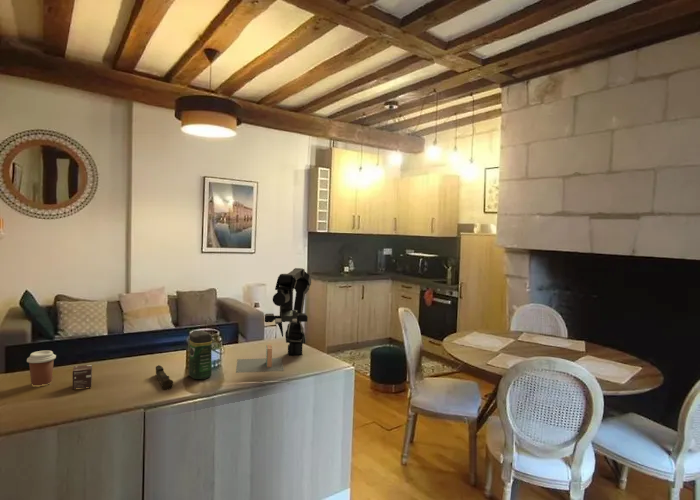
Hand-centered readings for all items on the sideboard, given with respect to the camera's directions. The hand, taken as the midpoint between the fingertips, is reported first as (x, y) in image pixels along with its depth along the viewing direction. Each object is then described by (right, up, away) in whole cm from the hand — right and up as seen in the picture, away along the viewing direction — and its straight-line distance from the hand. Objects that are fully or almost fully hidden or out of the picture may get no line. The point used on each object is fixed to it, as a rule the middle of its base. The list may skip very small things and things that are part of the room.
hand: (285, 336), depth 196 cm
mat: (-11, -13, -2) cm, 17 cm away
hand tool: (-45, -14, -24) cm, 53 cm away
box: (-72, -13, -31) cm, 79 cm away
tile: (-7, -12, -1) cm, 14 cm away
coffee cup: (-88, -12, -30) cm, 94 cm away
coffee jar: (-33, -13, -16) cm, 39 cm away
